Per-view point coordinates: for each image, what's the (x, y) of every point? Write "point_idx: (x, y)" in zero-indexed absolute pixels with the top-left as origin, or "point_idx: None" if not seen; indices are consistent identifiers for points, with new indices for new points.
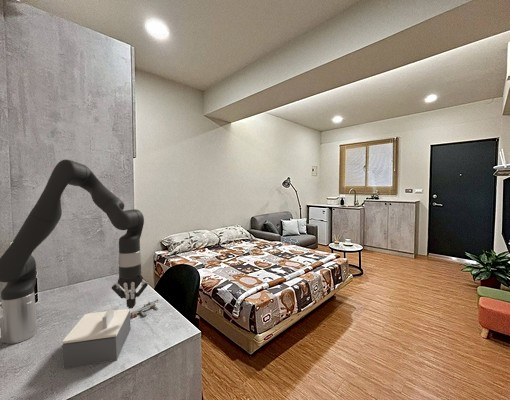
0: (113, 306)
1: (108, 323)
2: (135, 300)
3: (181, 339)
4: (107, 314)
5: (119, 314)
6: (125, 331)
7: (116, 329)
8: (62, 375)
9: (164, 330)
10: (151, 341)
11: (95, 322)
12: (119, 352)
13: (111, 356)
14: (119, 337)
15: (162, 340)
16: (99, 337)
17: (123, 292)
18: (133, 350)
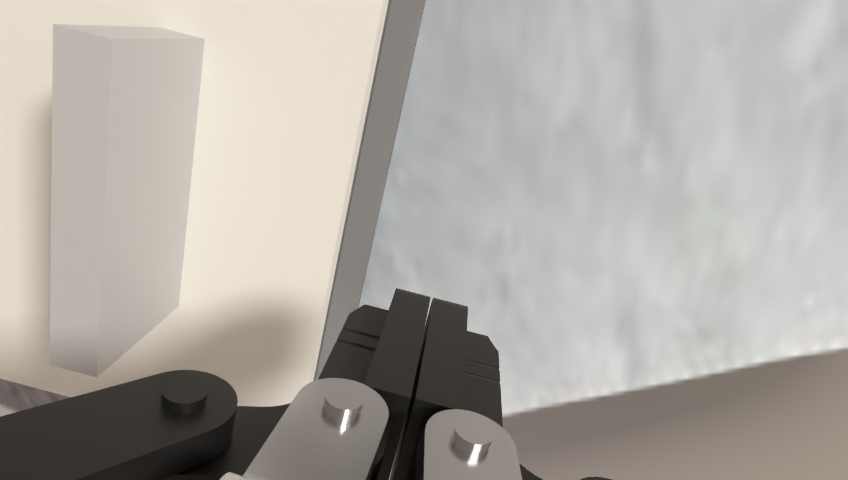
0: (109, 42)
1: (172, 259)
2: (496, 405)
3: (838, 337)
4: (88, 294)
5: (271, 20)
6: (386, 128)
7: (285, 377)
8: None
9: (752, 129)
10: (603, 243)
11: (10, 102)
12: (360, 287)
13: None
14: (335, 330)
15: (690, 274)
16: None
17: (133, 473)
18: (459, 288)
